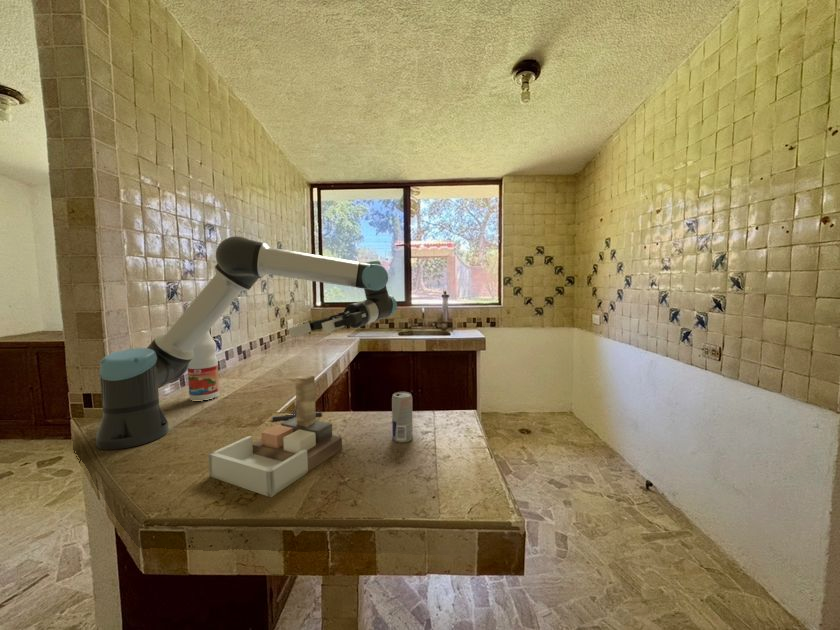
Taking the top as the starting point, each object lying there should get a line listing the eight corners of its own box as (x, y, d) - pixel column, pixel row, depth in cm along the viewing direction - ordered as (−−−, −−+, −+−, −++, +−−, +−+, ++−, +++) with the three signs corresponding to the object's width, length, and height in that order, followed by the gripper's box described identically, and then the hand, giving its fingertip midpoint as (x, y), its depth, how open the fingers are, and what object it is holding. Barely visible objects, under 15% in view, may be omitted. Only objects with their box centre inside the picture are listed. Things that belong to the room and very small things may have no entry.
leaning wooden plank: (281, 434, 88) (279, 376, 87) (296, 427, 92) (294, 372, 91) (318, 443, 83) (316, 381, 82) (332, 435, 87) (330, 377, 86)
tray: (209, 476, 74) (208, 454, 74) (250, 456, 83) (249, 435, 83) (270, 497, 66) (269, 472, 66) (307, 472, 75) (307, 450, 75)
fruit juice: (224, 393, 133) (220, 321, 131) (211, 401, 123) (207, 323, 121) (198, 394, 132) (194, 321, 130) (183, 402, 123) (179, 324, 120)
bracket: (321, 403, 123) (321, 395, 123) (321, 418, 109) (321, 409, 109) (277, 407, 119) (277, 400, 119) (272, 423, 105) (272, 414, 104)
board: (250, 456, 83) (249, 443, 83) (288, 436, 94) (287, 425, 94) (307, 472, 75) (307, 458, 75) (342, 449, 86) (341, 437, 86)
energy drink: (399, 432, 96) (399, 390, 95) (416, 437, 93) (416, 393, 92) (388, 440, 91) (387, 395, 90) (405, 444, 88) (404, 398, 88)
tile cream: (283, 450, 79) (283, 437, 79) (299, 441, 84) (299, 429, 84) (300, 454, 77) (299, 441, 77) (315, 445, 82) (315, 432, 82)
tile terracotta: (261, 444, 82) (261, 432, 82) (278, 436, 87) (278, 424, 87) (277, 448, 80) (276, 435, 80) (293, 439, 85) (293, 428, 85)
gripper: (394, 321, 102) (342, 340, 84) (336, 329, 116) (281, 347, 98) (388, 296, 101) (335, 310, 83) (330, 307, 115) (275, 321, 97)
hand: (306, 330), depth 91 cm, fingers open, 13 cm apart
